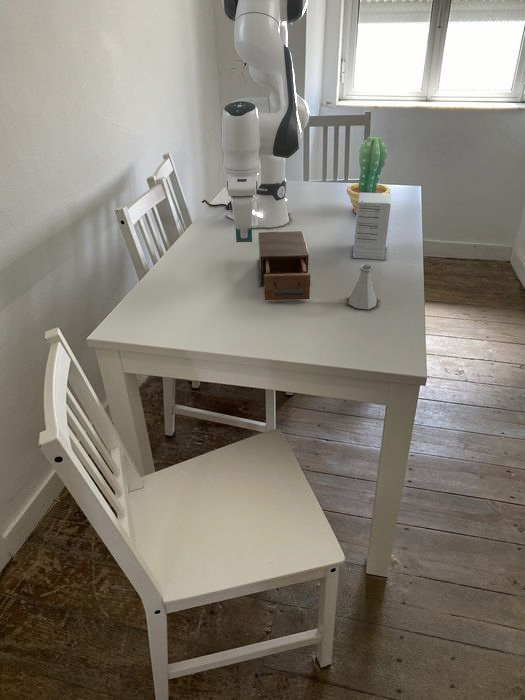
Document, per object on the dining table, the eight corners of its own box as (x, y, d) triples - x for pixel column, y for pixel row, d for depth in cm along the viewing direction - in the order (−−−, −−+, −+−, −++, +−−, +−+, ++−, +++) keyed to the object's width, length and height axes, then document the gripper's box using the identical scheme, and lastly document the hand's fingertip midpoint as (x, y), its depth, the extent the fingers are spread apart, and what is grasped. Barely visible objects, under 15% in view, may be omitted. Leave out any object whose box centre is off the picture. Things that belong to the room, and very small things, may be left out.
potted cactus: (392, 207, 192) (402, 134, 178) (382, 221, 180) (391, 144, 166) (351, 201, 197) (357, 130, 183) (338, 215, 186) (344, 140, 172)
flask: (370, 312, 130) (374, 276, 124) (343, 305, 133) (346, 269, 127) (381, 300, 135) (385, 264, 129) (355, 293, 138) (358, 258, 132)
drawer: (311, 310, 129) (313, 285, 125) (265, 311, 129) (265, 287, 125) (303, 272, 147) (304, 249, 143) (262, 273, 146) (262, 250, 143)
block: (236, 242, 133) (235, 227, 130) (236, 236, 136) (235, 221, 134) (252, 242, 133) (251, 226, 130) (252, 235, 136) (251, 221, 134)
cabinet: (307, 284, 142) (308, 255, 137) (260, 286, 142) (260, 256, 137) (301, 258, 156) (302, 231, 151) (259, 260, 156) (258, 232, 151)
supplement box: (384, 260, 154) (391, 203, 145) (352, 258, 156) (357, 202, 146) (384, 247, 162) (391, 192, 153) (354, 245, 164) (359, 191, 154)
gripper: (230, 166, 134) (232, 218, 142) (227, 191, 117) (230, 249, 125) (254, 165, 134) (256, 218, 142) (256, 190, 117) (257, 248, 125)
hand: (244, 233), depth 133 cm, fingers closed on block, 4 cm apart
